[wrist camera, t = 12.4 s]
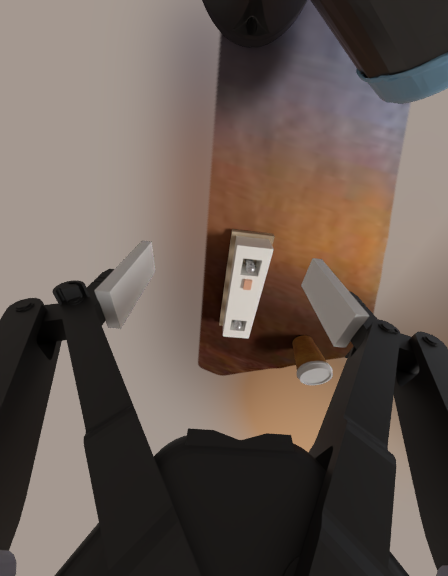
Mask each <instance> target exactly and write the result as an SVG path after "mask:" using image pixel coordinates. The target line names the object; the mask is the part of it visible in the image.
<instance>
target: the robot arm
mask: <svg viewBox="0 0 448 576" xmlns="http://www.w3.org/2000/svg"><path fill="white" fill-rule="evenodd" d="M202 1H203V3H204V6H205V8H206V10H207V12H208V14H209V16H210V18H211V19H212V21H213V23H214V24H215V26H216V27H217V28H218V29H219V31H220V32H221V33H222V34H223V35H224V36H225V37H227V38H228V39H229V40H231V41H232V42H234V43H236V44H238V45H241V46H245V47H259V46H263V45H266V44H268V43H270V42H272V41H274V40H276V39H277V38H278V37H280V36H281V35H282V34H283V33H284V32H285V31H286V30H287V29H288V28H289V27H290V26H291V25H292V24H293V22H294V21H295V20H296V18H297V17H298V15H299V14H300V12H301V11H302V9H303V7H304V5H305V3H306V2H307V0H202ZM311 2H312V3H313V5H314V6H315V7H316V9H317V10H318V12H319V13H320V15H321V16H322V18H323V19H324V21H325V22H326V24H327V25H328V27H329V28H330V29H331V31H332V32H333V34H334V35H335V37H336V38H337V40H338V41H339V43H340V44H341V46H342V47H343V49H344V50H345V51H346V53H347V54H348V56H349V57H350V59H351V60H352V62H353V63H354V65H355V66H356V68H357V71H356V72H357V74H358V76H359V77H360V78H361V79H362V80H363V81H365V82H368V83H369V85H370V86H371V87H372V88H373V90H374V91H375V92H376V93H377V95H378V96H379V97H380V98H381V99H382V100H384V101H385V102H393V103H398V104H403V103H409V102H413V101H417V100H420V99H423V98H426V97H429V96H431V95H434V94H436V93H439V92H441V91H443V90H445V89H447V88H448V0H311ZM154 273H155V264H154V256H153V248H152V242H150V241H141V243H139V244H138V245H137V246H136V247H135V249H134V250H133V251H132V252H131V253H130V254H129V255H128V256H127V257H126V258H125V259H124V260H123V261H122V262H121V263H120V264H119V266H117V267H116V269H108V270H107V271H105V272H102V273H101V274H100V275H99V276H98V278H96V279H95V280H94V282H92V283H91V284H90V285H89V286H88V287H87V288H86V286H85V284H84V283H83V282H81V281H67V282H64V283H61V284H60V285H58V286H56V287H55V288H54V289H53V294H54V296H55V298H56V299H57V301H58V303H59V304H50V305H44V304H43V302H42V301H41V300H40V299H37V298H28V299H24V300H20V301H18V302H15V303H14V304H12V305H10V306H9V307H8V308H7V310H6V311H5V313H4V314H3V316H2V318H1V319H0V576H15V574H16V560H15V557H14V554H12V553H11V552H10V551H9V548H10V546H11V543H12V540H13V538H14V535H15V532H16V529H17V527H18V524H19V521H20V517H21V513H22V510H23V506H24V502H25V499H26V495H27V490H28V486H29V482H30V477H31V473H32V469H33V464H34V460H35V455H36V451H37V446H38V442H39V438H40V434H41V429H42V425H43V420H44V416H45V412H46V407H47V403H48V398H49V394H50V390H51V385H52V381H53V376H54V372H55V368H56V363H57V359H58V355H59V350H60V346H61V341H62V340H67V343H68V348H69V352H70V357H71V362H72V367H73V372H74V376H75V381H76V386H77V390H78V395H79V399H80V405H81V409H82V414H83V419H84V423H85V429H86V434H85V436H84V447H85V453H86V458H87V463H88V468H89V473H90V478H91V484H92V489H93V494H94V499H95V504H96V509H97V514H98V519H99V523H98V524H97V526H96V527H95V528H94V529H93V530H92V531H91V533H90V534H89V535H88V536H87V537H86V539H85V540H84V541H83V542H82V543H81V545H80V546H79V547H78V548H77V549H76V551H75V552H74V553H73V554H72V555H71V557H70V558H69V559H68V560H67V561H66V563H65V564H64V565H63V566H62V567H61V569H60V570H59V571H58V572H57V573H56V575H55V576H409V575H408V574H407V572H406V571H405V570H404V569H403V567H402V566H401V565H400V563H399V562H398V561H397V560H396V558H395V557H394V556H393V555H392V553H391V552H390V538H391V526H392V514H393V501H394V487H395V476H396V475H395V474H396V459H395V457H394V455H393V454H391V453H390V452H389V451H388V448H387V446H388V437H389V429H390V420H391V411H392V402H393V394H394V398H395V402H396V407H397V411H398V416H399V421H400V425H401V430H402V435H403V439H404V444H405V448H406V452H407V457H408V462H409V467H410V471H411V476H412V480H413V485H414V489H415V494H416V498H417V503H418V507H419V512H420V517H421V520H422V524H423V528H424V531H425V536H426V539H427V542H428V545H429V548H430V551H431V554H432V557H433V560H434V563H435V565H436V568H437V570H438V571H437V575H436V576H448V349H447V347H446V346H445V345H444V343H443V342H441V341H440V340H439V339H438V338H436V337H435V336H433V335H430V334H428V333H424V332H417V333H416V334H414V335H413V336H412V337H410V336H407V335H404V334H400V332H399V330H398V329H397V328H396V327H394V326H393V325H392V324H390V323H388V322H386V321H383V320H378V319H377V318H376V317H375V316H374V315H373V313H372V312H371V311H370V310H369V309H368V308H367V307H366V305H365V304H364V303H362V301H361V300H360V299H359V297H358V296H356V295H355V294H354V293H352V292H350V291H348V290H347V289H346V287H345V286H344V285H343V284H342V283H341V281H340V280H339V279H338V278H337V277H336V276H335V274H334V273H333V272H332V271H331V270H330V268H329V267H328V266H327V265H326V264H325V263H324V261H323V260H322V259H314V258H313V259H312V261H311V264H310V266H309V268H308V271H307V273H306V276H305V278H304V280H303V283H302V285H301V286H302V288H303V289H304V291H305V293H306V295H307V297H308V299H309V301H310V303H311V305H312V306H313V308H314V310H315V312H316V314H317V316H318V318H319V320H320V321H321V323H322V325H323V327H324V329H325V331H326V333H327V335H328V336H329V338H330V340H331V342H332V344H333V346H335V347H346V346H347V345H348V344H349V342H350V341H351V342H352V344H353V345H354V346H353V348H352V349H351V350H350V352H349V353H348V354H347V355H346V357H345V358H348V359H347V361H346V364H345V366H344V369H343V372H342V374H341V376H340V379H339V382H338V384H337V387H336V389H335V392H334V395H333V397H332V400H331V402H330V405H329V407H328V410H327V413H326V415H325V418H324V420H323V423H322V426H321V428H320V430H319V433H318V436H317V438H316V441H315V443H314V445H313V446H312V448H311V449H310V451H309V453H308V452H307V451H305V450H304V449H302V448H301V447H299V446H297V445H295V444H293V443H292V438H291V435H282V434H263V435H260V436H256V437H252V438H248V439H245V440H237V439H235V438H232V437H230V436H227V435H225V434H222V433H219V432H217V431H214V430H202V429H188V433H187V436H183V437H180V438H178V439H176V440H174V441H172V442H170V443H169V444H167V445H166V446H165V447H163V448H162V449H161V450H160V451H159V452H158V453H157V454H156V455H155V456H154V457H153V454H152V452H151V449H150V446H149V444H148V442H147V439H146V436H145V434H144V431H143V429H142V426H141V424H140V422H139V419H138V416H137V414H136V411H135V409H134V406H133V404H132V401H131V399H130V396H129V394H128V391H127V389H126V386H125V384H124V381H123V379H122V376H121V374H120V371H119V369H118V366H117V364H116V361H115V359H114V356H113V353H112V351H111V348H110V346H109V343H108V341H107V338H106V336H105V333H104V331H103V328H102V325H103V323H104V322H105V321H106V323H107V326H108V328H122V326H123V324H124V323H125V321H126V319H127V318H128V316H129V314H130V313H131V311H132V309H133V308H134V306H135V304H136V303H137V301H138V299H139V298H140V296H141V295H142V293H143V291H144V290H145V288H146V286H147V285H148V283H149V281H150V280H151V278H152V276H153V275H154Z"/></svg>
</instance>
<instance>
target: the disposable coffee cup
mask: <svg viewBox="0 0 448 576" xmlns="http://www.w3.org/2000/svg"><path fill="white" fill-rule="evenodd" d="M292 345H293V350H294V356H295V361H296V366H297V377H298V378H299V379H300V381H301V382H302V383H303V384H306V385H320V384H323V383H325V382H327V381H329V380H330V379H331V378H332V375H333V374H332V367H331V366H330V365H329V364H328V363H327V362H326V360H325V359H324V357H323V355H322V354H321V352H320V351H319V349H318V348H317V346H316V344H315V343H314V341H313V340H312V338H311V337H310V336H306V335H302V336H298V337H296V338H295V339H294V340H293V342H292Z"/></svg>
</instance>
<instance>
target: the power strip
mask: <svg viewBox="0 0 448 576" xmlns="http://www.w3.org/2000/svg"><path fill="white" fill-rule="evenodd" d="M273 250H274V249H273V247H272V245H271V243H270V240H269V239H261V238H252V237H243V236H236V241H235V248H234V254H233V261H232V268H231V274H230V281H229V287H228V294H227V300H226V307H225V313H224V320H223V336H227V337H238V338H249V335H250V331H251V328H252V324H253V321H254V317H255V314H256V310H257V306H258V303H259V299H260V296H261V292H262V289H263V285H264V282H265V278H266V275H267V271H268V267H269V264H270V260H271V257H272V253H273ZM243 258H244V259H253V260H256V265H255V271H254V272H253V273H248V272H247V270H246V264H242V263H243ZM234 320H240V321H241V325H242V327H241V329H240V330H236V329H235V325H234Z"/></svg>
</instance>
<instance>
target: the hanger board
mask: <svg viewBox="0 0 448 576" xmlns="http://www.w3.org/2000/svg"><path fill="white" fill-rule="evenodd" d="M236 236H243V237H252V238H261V239H269V240H270V243H271V245H272V244H273V240H274V237H275V236H274V234H270V233H262V232H253V231H245V230H236V229H232V233H231V240H230V248H229V255H228V262H227V269H226V277H225V284H224V291H223V299H222V306H221V313H220V321H219V325H223V320H224V313H225V307H226V300H227V294H228V287H229V281H230V274H231V268H232V261H233V254H234V248H235V241H236ZM253 261H254V265H256V260H253ZM242 264H245V259H244V258H243V263H242Z"/></svg>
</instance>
